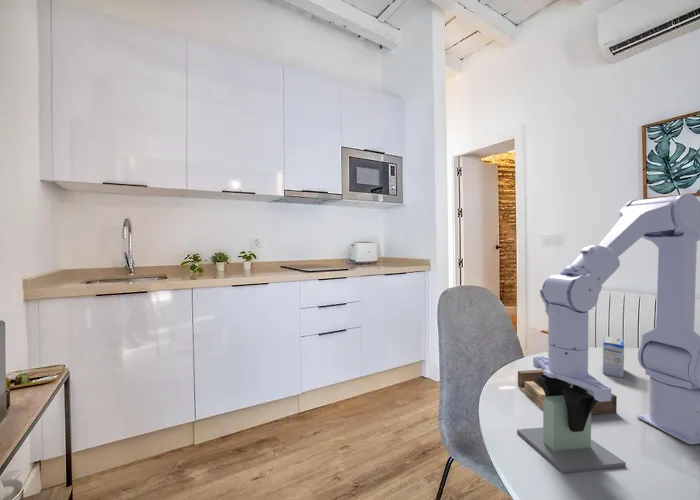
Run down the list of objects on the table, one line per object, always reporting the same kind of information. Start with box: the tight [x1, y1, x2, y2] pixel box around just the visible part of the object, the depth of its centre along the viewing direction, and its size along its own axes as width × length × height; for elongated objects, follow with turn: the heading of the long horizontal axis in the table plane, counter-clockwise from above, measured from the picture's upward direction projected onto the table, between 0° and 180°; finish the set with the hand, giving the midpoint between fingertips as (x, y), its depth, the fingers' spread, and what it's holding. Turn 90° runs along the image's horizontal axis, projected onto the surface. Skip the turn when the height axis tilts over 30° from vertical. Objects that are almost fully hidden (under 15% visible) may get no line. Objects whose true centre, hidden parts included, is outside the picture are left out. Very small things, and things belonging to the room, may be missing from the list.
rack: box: [517, 369, 618, 416], centre depth 76 cm, size 16×12×4 cm
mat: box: [516, 426, 627, 474], centre depth 57 cm, size 11×11×1 cm
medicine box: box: [602, 336, 625, 378], centre depth 91 cm, size 8×4×9 cm, turn 141°
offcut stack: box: [520, 381, 546, 411], centre depth 74 cm, size 11×2×3 cm, turn 179°
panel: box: [542, 395, 592, 451], centre depth 57 cm, size 2×7×8 cm, turn 98°
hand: (567, 423), depth 57 cm, fingers open, 3 cm apart
